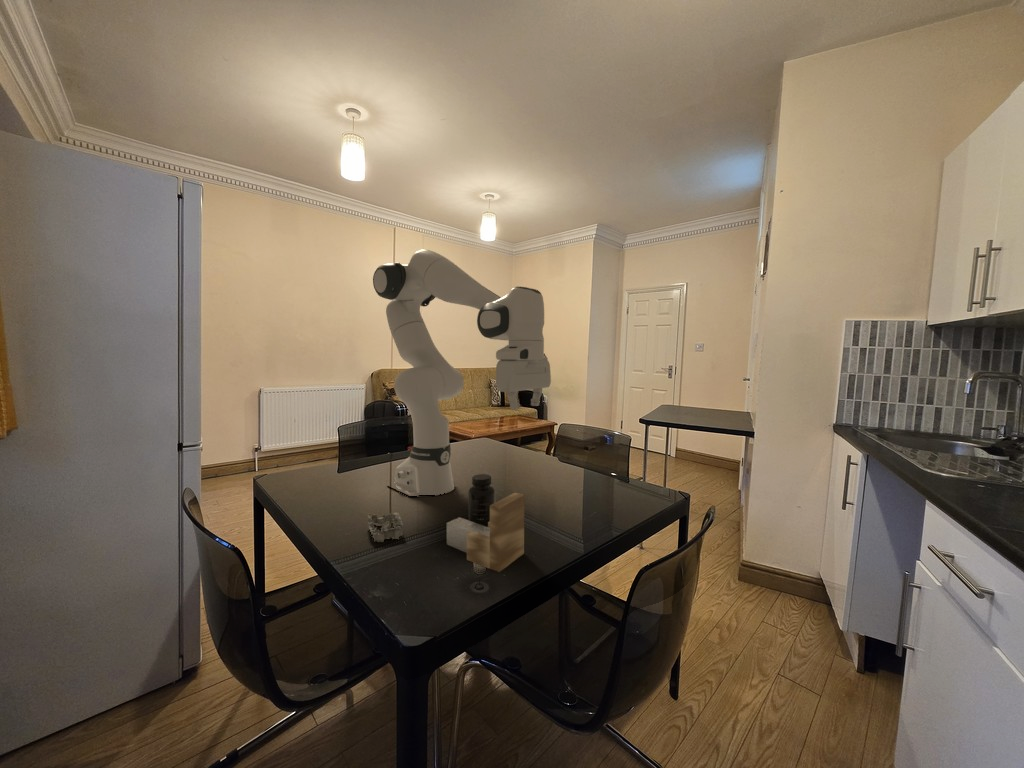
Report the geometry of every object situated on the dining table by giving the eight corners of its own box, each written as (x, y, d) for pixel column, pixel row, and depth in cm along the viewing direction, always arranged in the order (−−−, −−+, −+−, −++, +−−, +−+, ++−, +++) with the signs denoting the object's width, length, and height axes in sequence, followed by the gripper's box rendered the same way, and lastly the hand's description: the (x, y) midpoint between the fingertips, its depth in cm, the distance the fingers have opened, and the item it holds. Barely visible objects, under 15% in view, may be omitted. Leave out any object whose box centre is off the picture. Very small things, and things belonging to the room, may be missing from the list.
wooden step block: (466, 559, 83) (466, 499, 82) (492, 543, 91) (492, 487, 90) (499, 572, 79) (499, 508, 78) (523, 553, 86) (524, 494, 85)
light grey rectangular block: (446, 544, 90) (446, 517, 90) (459, 538, 93) (459, 512, 93) (494, 564, 82) (494, 535, 81) (506, 556, 85) (506, 528, 84)
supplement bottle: (470, 516, 105) (470, 472, 105) (496, 517, 105) (496, 472, 104) (466, 528, 99) (466, 480, 98) (494, 528, 98) (494, 481, 98)
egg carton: (366, 528, 99) (366, 512, 99) (397, 522, 102) (397, 507, 102) (371, 546, 89) (370, 528, 89) (405, 539, 93) (405, 522, 92)
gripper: (536, 352, 110) (536, 402, 111) (491, 352, 93) (490, 410, 94) (557, 353, 106) (556, 404, 107) (513, 352, 89) (512, 413, 90)
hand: (525, 407), depth 101 cm, fingers open, 8 cm apart
